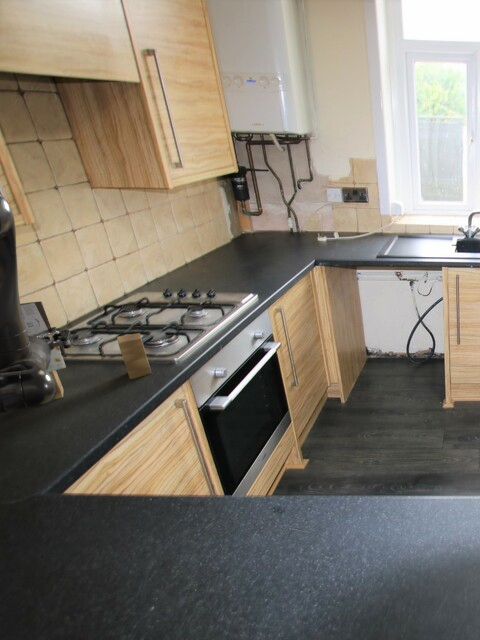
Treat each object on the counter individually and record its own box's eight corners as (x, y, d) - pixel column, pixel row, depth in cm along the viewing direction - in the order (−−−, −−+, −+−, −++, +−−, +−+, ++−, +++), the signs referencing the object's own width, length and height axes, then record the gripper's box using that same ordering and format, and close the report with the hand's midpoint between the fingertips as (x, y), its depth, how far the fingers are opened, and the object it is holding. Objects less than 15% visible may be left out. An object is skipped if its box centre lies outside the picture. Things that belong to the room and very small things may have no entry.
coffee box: (68, 367, 111) (43, 300, 107) (33, 376, 105) (6, 306, 101) (46, 367, 114) (21, 302, 110) (12, 376, 108) (-16, 308, 104)
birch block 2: (130, 382, 130) (117, 342, 125) (129, 375, 134) (117, 336, 129) (153, 377, 133) (141, 338, 128) (151, 371, 137) (139, 332, 132)
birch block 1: (36, 403, 119) (18, 360, 114) (38, 395, 122) (20, 353, 118) (63, 397, 122) (46, 355, 117) (63, 390, 125) (47, 349, 121)
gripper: (64, 334, 98) (66, 313, 110) (-36, 350, 90) (-22, 325, 101) (76, 367, 101) (77, 342, 113) (-20, 385, 93) (-9, 357, 104)
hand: (30, 334), depth 107 cm, fingers closed on coffee box, 8 cm apart
